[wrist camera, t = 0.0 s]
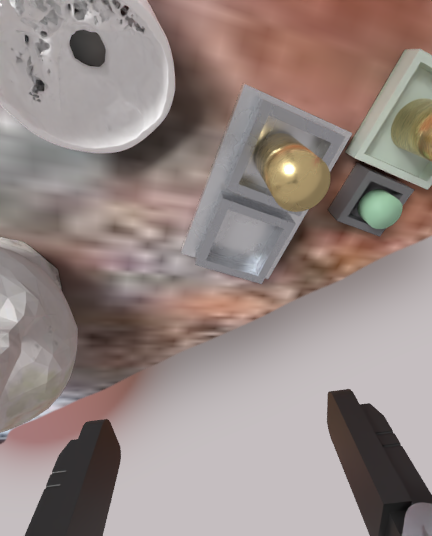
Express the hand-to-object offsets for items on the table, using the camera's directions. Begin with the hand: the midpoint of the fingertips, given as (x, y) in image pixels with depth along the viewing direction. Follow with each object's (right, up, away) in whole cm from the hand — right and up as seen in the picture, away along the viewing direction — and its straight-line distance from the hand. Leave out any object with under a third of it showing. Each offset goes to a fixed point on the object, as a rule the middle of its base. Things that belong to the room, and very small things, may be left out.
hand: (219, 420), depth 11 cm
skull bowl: (-10, +23, +12) cm, 27 cm away
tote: (+17, +18, +16) cm, 30 cm away
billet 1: (+5, +15, +16) cm, 22 cm away
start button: (+14, +11, +17) cm, 25 cm away
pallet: (+4, +13, +19) cm, 23 cm away
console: (+14, +13, +19) cm, 27 cm away
